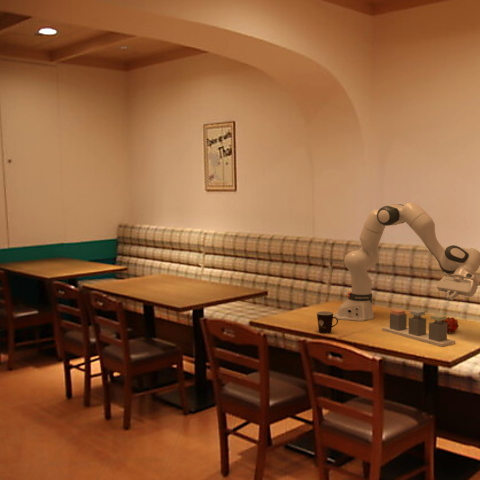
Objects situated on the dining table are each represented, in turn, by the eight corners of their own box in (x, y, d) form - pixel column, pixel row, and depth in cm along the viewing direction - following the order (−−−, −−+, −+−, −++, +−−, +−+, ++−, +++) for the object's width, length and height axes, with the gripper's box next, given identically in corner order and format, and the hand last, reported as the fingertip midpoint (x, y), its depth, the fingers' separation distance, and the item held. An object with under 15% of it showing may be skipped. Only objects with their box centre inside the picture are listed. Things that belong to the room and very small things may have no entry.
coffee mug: (313, 330, 326) (313, 312, 324) (328, 329, 329) (328, 310, 328) (324, 336, 315) (324, 316, 314) (339, 334, 318) (339, 315, 317)
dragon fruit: (440, 336, 315) (454, 336, 322) (452, 329, 310) (467, 329, 317) (433, 321, 319) (447, 321, 326) (445, 314, 313) (460, 314, 321)
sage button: (430, 325, 300) (430, 315, 299) (437, 323, 302) (437, 314, 302) (438, 327, 295) (439, 317, 295) (445, 325, 298) (445, 316, 298)
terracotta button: (391, 319, 321) (391, 310, 320) (397, 317, 324) (397, 309, 323) (398, 321, 317) (398, 312, 316) (405, 319, 320) (405, 310, 319)
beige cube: (410, 320, 310) (410, 311, 310) (416, 318, 313) (417, 309, 312) (417, 321, 306) (418, 312, 305) (424, 320, 309) (424, 311, 308)
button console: (382, 330, 324) (382, 312, 322) (395, 327, 329) (395, 310, 328) (441, 347, 292) (441, 327, 291) (455, 343, 297) (455, 324, 296)
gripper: (442, 270, 313) (428, 292, 309) (477, 276, 296) (463, 298, 292) (447, 278, 316) (434, 299, 312) (482, 284, 299) (469, 306, 295)
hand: (449, 299), depth 302 cm, fingers closed
